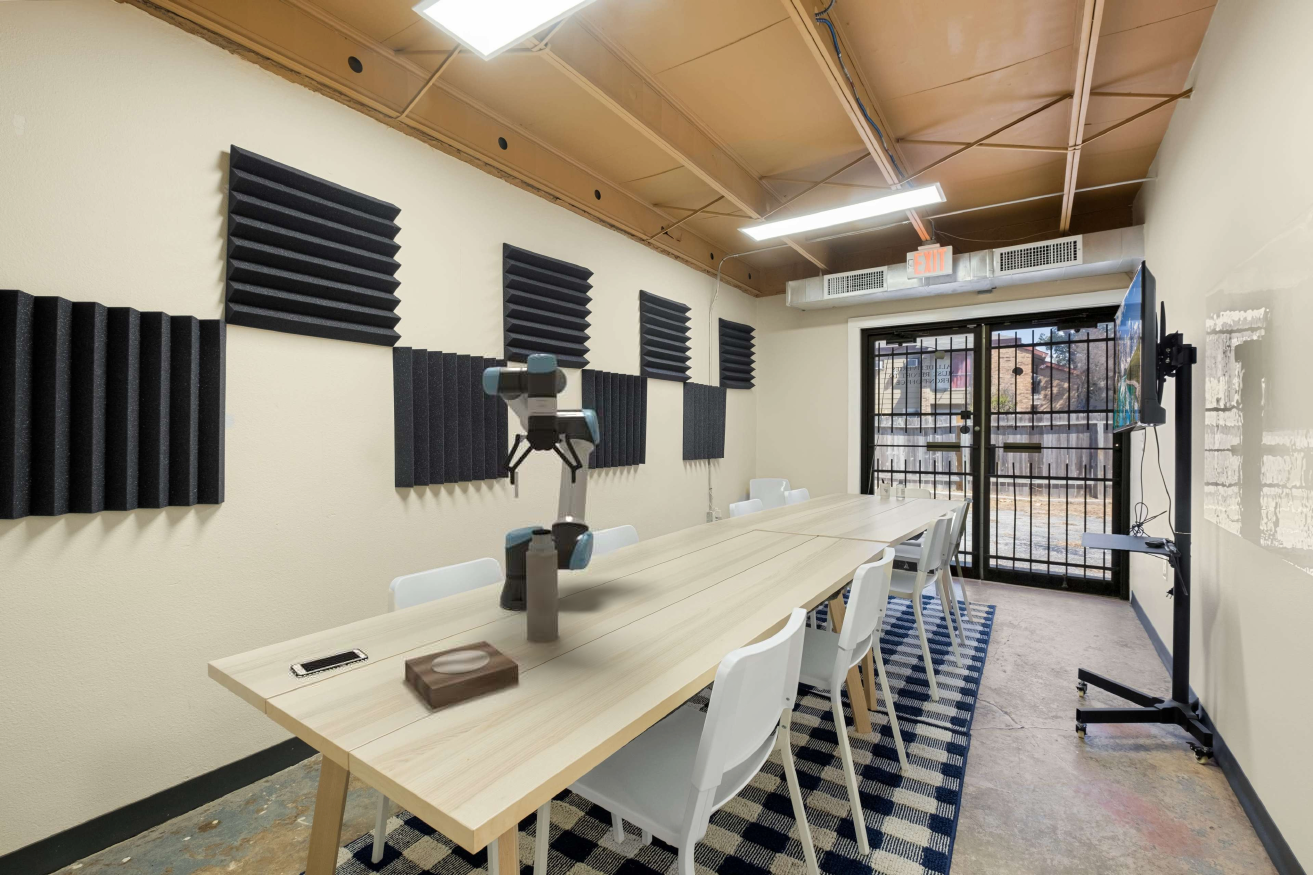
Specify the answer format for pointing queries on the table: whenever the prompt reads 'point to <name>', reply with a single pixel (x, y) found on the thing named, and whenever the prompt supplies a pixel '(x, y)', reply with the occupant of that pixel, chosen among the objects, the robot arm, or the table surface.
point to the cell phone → (328, 662)
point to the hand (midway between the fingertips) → (543, 496)
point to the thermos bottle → (542, 588)
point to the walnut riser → (460, 673)
